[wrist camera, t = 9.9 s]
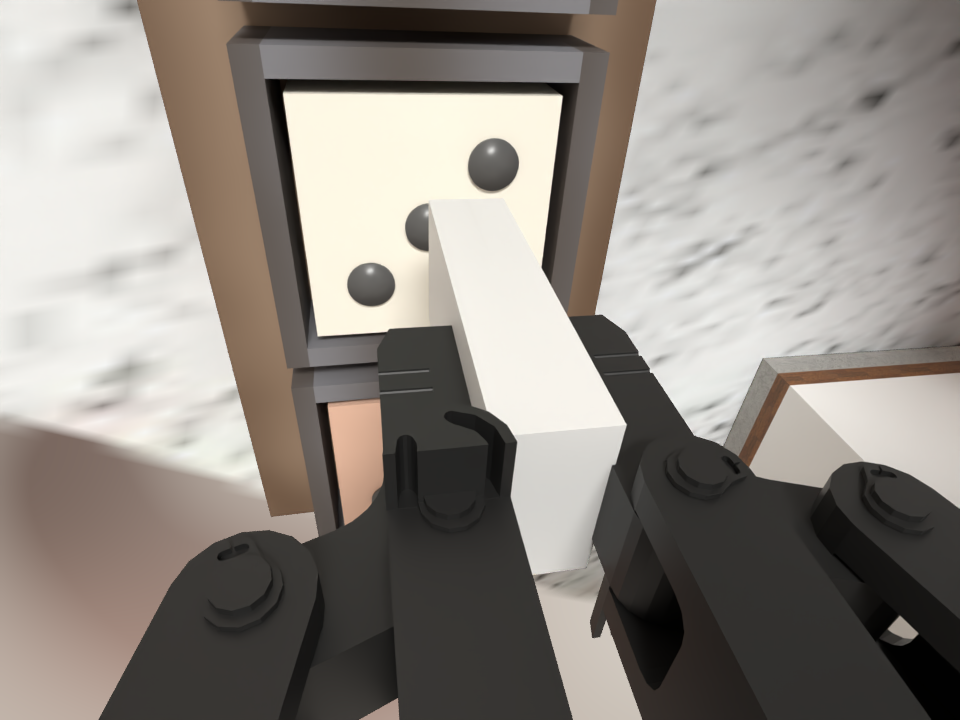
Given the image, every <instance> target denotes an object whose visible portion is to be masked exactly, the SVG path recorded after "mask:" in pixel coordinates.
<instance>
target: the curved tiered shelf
mask: <svg viewBox="0 0 960 720" xmlns="http://www.w3.org/2000/svg"><path fill="white" fill-rule="evenodd" d="M724 448H726V449H728V450H729V451H731V452H733V453H734V454H736V455H737V456H738V457H739V458H740V459H741V460H742V461H743V462H744V463H745V464H746V465H747V466H748V467H749V468H750V469H751V470H752V472H753V473H754V474H755V476H756V477H761V478H765V479H769V480H776V481H782V482H788V483H794V484H801V485H807V486H813V487H819V488H823V487H824V485H825V484H826V482H827V481H828V479H829V477H830V476H831V474H832V473H833V472H834V471H835V470H837V469H838V468H839V467H841V466H842V465H843V464H847V463H854V462H861V461H863V462H869V463H876V464H882V465H886V466H889V467H892V468H894V469H897V470H900V471H902V472H905V473H907V474H910V475H912V476H913V477H915V478H916V479H918V480H920V481H921V482H923V483H925V484H926V485H928V486H929V487H931V488H933V489H934V490H935V491H937V492H938V493H939V494H941V495H942V496H943V497H945V498H946V499H947V500H949V501H950V502H951V503H953V504H954V505H955V506H957V507H958V508H959V509H960V346H949V347H933V348H918V349H902V350H886V351H870V352H855V353H839V354H823V355H807V356H792V357H776V358H763V360H762V362H761V364H760V367H759V369H758V371H757V373H756V375H755V378H754V380H753V382H752V384H751V387H750V389H749V391H748V393H747V396H746V398H745V400H744V402H743V404H742V407H741V409H740V411H739V413H738V416H737V418H736V420H735V422H734V425H733V427H732V429H731V431H730V433H729V436H728V438H727V440H726V442H725V445H724ZM888 630H889V631H891V632H892V633H894V634H896V635H898V636H900V637H902V638H908V639H914V638H915V637H916V636H917V635H918V634H919V633H917V632H916V631H915V630H914V629H913V628H912V627H911V626H910V625H909V624H908V623H907V622H906V621H905V620H904V619H903V618H902V617H901V616H899V618H898V619H897V620H896V621H895V622H894V623H893V624H892V625H891V626H890V627H889V628H888Z"/></svg>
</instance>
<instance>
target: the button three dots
mask: <svg viewBox="0 0 960 720" xmlns="http://www.w3.org/2000/svg"><path fill="white" fill-rule="evenodd" d="M283 97H284V104H285V111H286V118H287V125H288V132H289V139H290V146H291V153H292V160H293V167H294V174H295V181H296V188H297V195H298V202H299V209H300V216H301V223H302V230H303V237H304V244H305V251H306V258H307V265H308V272H309V279H310V286H311V293H312V300H313V307H314V314H315V321H316V328H317V335H318V336H332V335H347V334H362V333H378V332H387V331H388V330H389V329H394V328H412V327H430V326H431V325H430V320H429V200H435V199H490V198H504V200H505V202H506V204H507V206H508V207H509V209H510V211H511V213H512V215H513V217H514V218H515V220H516V222H517V224H518V226H519V228H520V230H521V231H522V233H523V235H524V237H525V239H526V241H527V242H528V244H529V246H530V248H531V250H532V252H533V253H534V255H535V257H536V259H537V261H538V263H539V264H540V266H542V258H543V250H544V242H545V234H546V226H547V218H548V210H549V202H550V194H551V186H552V178H553V170H554V162H555V154H556V146H557V138H558V130H559V122H560V114H561V106H562V98H563V96H562V95H561V94H559V93H558V92H557V91H555V90H554V89H553V88H551V87H550V86H549V85H547V84H546V83H545V82H479V81H404V80H330V79H288V80H287V83H286V86H285V89H284V92H283Z"/></svg>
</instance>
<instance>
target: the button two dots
mask: <svg viewBox="0 0 960 720" xmlns="http://www.w3.org/2000/svg"><path fill="white" fill-rule="evenodd" d="M328 412H329V419H330V426H331V433H332V440H333V447H334V454H335V461H336V468H337V475H338V482H339V489H340V496H341V503H342V510H343V517H344V524H345V525H346V524H348V523H350V522H352V521H353V520H355V519H356V518H357V517H358V516H360V515H361V514H362V513H363V512H364V511H366V510H367V509H368V507H369V506H370V505H371V504H372V502H373V501H374V500H375V498H376V497H377V495H378V493H379V491H380V488H381V486H382V484H383V477H384V473H383V459H382V453H383V441H382V424H381V408H380V398H369V399H358V400H346V401H335V402H328Z"/></svg>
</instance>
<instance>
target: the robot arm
mask: <svg viewBox="0 0 960 720" xmlns="http://www.w3.org/2000/svg"><path fill="white" fill-rule="evenodd" d="M429 320H430V325H431V326H430V327H412V328H394V329H389V330H388V331H387V333H386V335H385V336H384V338H383V340H382V341H381V343H380V345H379V346H378V348H377V358H378V375H379V391H380V408H381V424H382V441H383V453H382V459H383V473H384V477H383V484H382V486H381V488H380V491H379V493H378V495H377V497H376V498H375V500H374V501H373V502H372V504H371V505H370V506H369V507H368V509H367V510H366V511H364V512H363V513H362V514H361V515H360V516H358V517H357V518H356V519H355V520H353V521H352V522H350V523H348V524H346V525H344V526H342V527H340V528H339V529H337V530H335V531H332V532H330V533H327V534H325V535H322V536H320V537H318V538H315V539H312V540H310V541H308V542H305V543H303V544H301V543H300V542H298V541H297V540H296V539H295V538H294V537H292V536H288V535H285V534H281V533H277V532H274V531H270V530H267V531H253V532H242V533H239V534H236V535H234V536H231V537H228V538H226V539H223V540H221V541H218V542H216V543H214V544H212V545H211V546H209V547H208V548H207V549H205V550H204V551H202V552H201V553H200V554H198V555H197V556H196V557H194V558H193V559H192V560H190V561H189V562H188V563H187V565H186V566H185V567H184V569H183V570H182V571H181V573H180V574H179V575H178V577H177V578H176V579H175V580H174V582H173V583H172V584H171V586H170V588H169V589H168V591H167V593H166V595H165V597H164V599H163V601H162V602H161V604H160V606H159V608H158V610H157V612H156V614H155V615H154V617H153V619H152V621H151V623H150V625H149V627H148V628H147V631H146V632H145V634H144V636H143V638H142V640H141V642H140V644H139V645H138V647H137V649H136V651H135V653H134V655H133V656H132V659H131V660H130V662H129V664H128V666H127V668H126V669H125V671H124V673H123V675H122V677H121V679H120V681H119V683H118V684H117V686H116V688H115V690H114V692H113V694H112V695H111V697H110V699H109V701H108V703H107V705H106V707H105V709H104V710H103V712H102V714H101V716H100V718H99V720H359V719H361V718H363V717H364V716H366V715H368V714H370V713H371V712H373V711H375V710H377V709H379V708H381V707H382V706H384V705H386V704H388V703H390V702H391V701H393V700H395V699H397V698H398V703H399V719H400V720H573V719H572V715H571V711H570V707H569V704H568V700H567V697H566V693H565V689H564V686H563V682H562V679H561V675H560V672H559V669H558V664H557V661H556V657H555V654H554V650H553V647H552V643H551V639H550V636H549V632H548V629H547V625H546V621H545V618H544V614H543V611H542V607H541V604H540V600H539V596H538V593H537V589H536V586H535V582H534V579H533V575H538V574H545V573H553V572H560V571H568V570H575V569H583V568H587V565H588V561H589V557H590V554H591V550H592V547H593V543H594V546H595V548H596V551H597V554H598V556H599V559H600V561H601V564H602V566H603V569H604V572H605V575H604V578H603V581H602V584H601V587H600V591H599V594H598V597H597V600H596V603H595V607H594V610H593V613H592V616H591V620H590V625H591V632H592V638H596V637H600V635H601V633H602V630H603V627H604V624H605V621H606V620H607V622H608V625H609V628H610V631H611V635H612V637H613V639H614V642H615V645H616V648H617V650H618V653H619V656H620V659H621V662H622V664H623V667H624V670H625V673H626V675H627V678H628V681H629V683H630V686H631V689H632V692H633V695H634V698H635V700H636V703H637V706H638V709H639V711H640V714H641V717H642V720H960V509H959V508H958V507H957V506H955V505H954V504H953V503H951V502H950V501H949V500H947V499H946V498H945V497H943V496H942V495H941V494H939V493H938V492H937V491H935V490H934V489H933V488H931V487H929V486H928V485H926V484H925V483H923V482H921V481H920V480H918V479H916V478H915V477H913V476H912V475H910V474H907V473H905V472H902V471H900V470H897V469H894V468H892V467H889V466H886V465H882V464H876V463H869V462H863V461H861V462H854V463H847V464H843V465H842V466H841V467H839V468H838V469H837V470H835V471H834V472H833V473H832V474H831V476H830V477H829V479H828V481H827V482H826V484H825V485H824V487H823V488H819V487H813V486H807V485H801V484H794V483H788V482H782V481H776V480H769V479H765V478H761V477H756V476H755V474H754V473H753V472H752V470H751V469H750V468H749V467H748V466H747V465H746V464H745V463H744V462H743V461H742V460H741V459H740V458H739V457H738V456H737V455H736V454H734V453H733V452H731V451H729V450H728V449H726V448H724V447H723V446H721V445H719V444H718V443H716V442H712V441H709V440H706V439H703V438H700V437H696V436H694V435H693V433H692V432H691V430H690V429H689V427H688V426H687V424H686V423H685V421H684V420H683V418H682V417H681V415H680V414H679V412H678V411H677V409H676V408H675V406H674V405H673V403H672V402H671V400H670V399H669V397H668V396H667V394H666V393H665V391H664V390H663V388H662V387H661V385H660V383H659V382H658V380H657V379H656V377H655V376H654V374H653V373H650V371H649V370H650V368H649V367H648V365H647V364H646V362H645V361H644V359H643V358H642V356H639V355H638V350H637V349H636V347H635V346H634V344H633V343H632V341H631V340H630V338H629V337H628V335H627V334H626V332H625V331H624V330H622V329H621V328H619V327H618V326H617V325H615V324H614V323H613V322H611V321H610V320H608V319H607V318H606V317H604V316H603V315H590V316H571V317H568V316H567V314H566V312H565V311H564V309H563V307H562V305H561V303H560V301H559V299H558V298H557V296H556V294H555V292H554V290H553V288H552V287H551V285H550V283H549V281H548V279H547V277H546V276H545V274H544V272H543V270H542V268H541V266H540V264H539V263H538V261H537V259H536V257H535V255H534V253H533V252H532V250H531V248H530V246H529V244H528V242H527V241H526V239H525V237H524V235H523V233H522V231H521V230H520V228H519V226H518V224H517V222H516V220H515V218H514V217H513V215H512V213H511V211H510V209H509V207H508V206H507V204H506V202H505V200H504V198H490V199H435V200H429ZM899 616H901V617H902V618H903V619H904V620H905V621H906V622H907V623H908V624H909V625H910V626H911V627H912V628H913V629H914V630H915V631H916V632H917V633H919V634H918V635H917V636H916V637H915V638H914V639H908V638H902V637H900V636H898V635H896V634H894V633H892V632H891V631H889V630H888V628H889V627H890V626H891V625H892V624H893V623H894V622H895V621H896V620H897V619H898V618H899Z"/></svg>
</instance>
